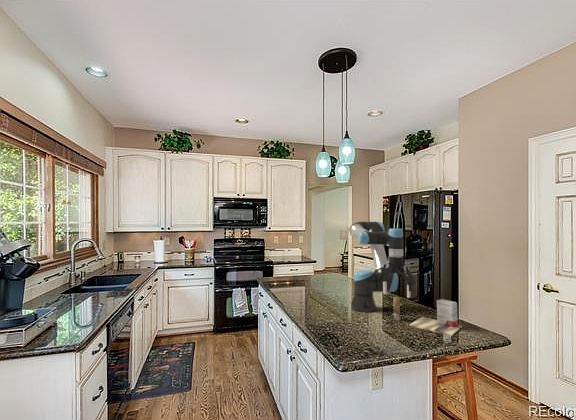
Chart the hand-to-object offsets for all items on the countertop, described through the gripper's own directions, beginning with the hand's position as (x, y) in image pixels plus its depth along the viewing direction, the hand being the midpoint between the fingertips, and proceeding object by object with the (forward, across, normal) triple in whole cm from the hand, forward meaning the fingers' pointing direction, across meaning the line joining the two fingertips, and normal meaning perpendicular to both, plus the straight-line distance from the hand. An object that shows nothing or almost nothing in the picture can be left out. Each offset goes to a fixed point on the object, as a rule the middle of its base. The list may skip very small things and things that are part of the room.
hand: (396, 295), depth 166 cm
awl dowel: (+14, 0, 0) cm, 14 cm away
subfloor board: (+14, +19, +4) cm, 24 cm away
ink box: (+13, +23, +10) cm, 28 cm away
